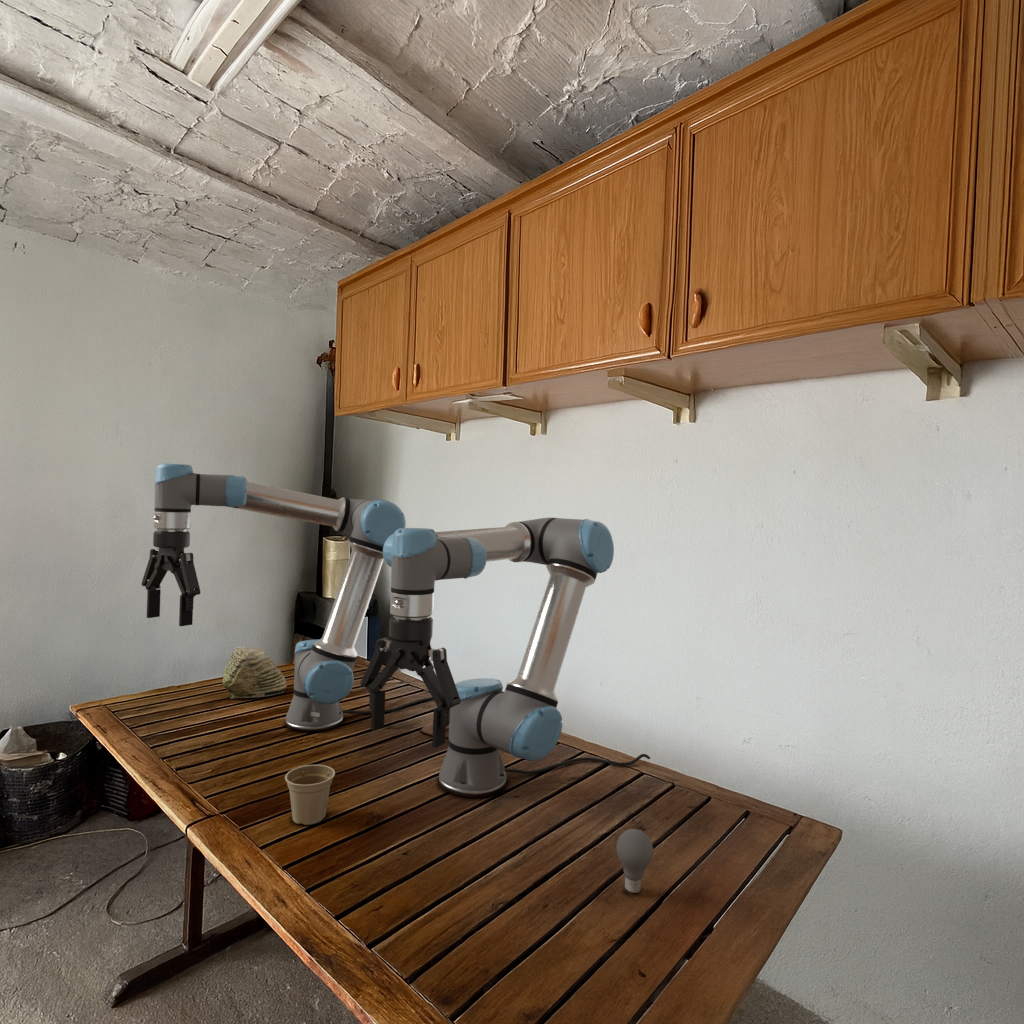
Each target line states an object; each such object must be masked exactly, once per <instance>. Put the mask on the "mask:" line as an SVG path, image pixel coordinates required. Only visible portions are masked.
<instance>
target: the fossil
mask: <svg viewBox="0 0 1024 1024" xmlns="http://www.w3.org/2000/svg"><path fill="white" fill-rule="evenodd" d="M222 676H223V677H222V685H223V687H224V688H225V690H226V691H228V693H229V698H230V699H250V698H264V697H271V696H275V695H281V694H284V693H285V691H286V689H287V687H288V686H287V680H286V678H285V676H284V674H283V673H282V672H281V669H279V668H278V667H277V665H276V663H275V662H274V660H273V659H272V658H271V657H270V656H269V655H268V654H267V653H266V652H265V650H264V649H263V648H260V647H258V648H251V647H247V646H246V647H245V646H238V647H237V648H236V649H235V650H233V651H232V653H231V656H230V657H229V659H228V660H227V663H226V666H225V668H224V671H223V675H222Z"/></svg>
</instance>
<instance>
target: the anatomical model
mask: <svg viewBox="0 0 1024 1024" xmlns="http://www.w3.org/2000/svg"><path fill="white" fill-rule="evenodd" d="M420 730H421V732H422V733H424V734H426V735H430V736H433V722H431V723H428V724H426V725H425V726H422V728H421V729H420ZM447 737H448V738H449V725H448V726H447V727H446V734H445V738H447Z"/></svg>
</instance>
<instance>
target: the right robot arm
mask: <svg viewBox="0 0 1024 1024" xmlns="http://www.w3.org/2000/svg"><path fill="white" fill-rule="evenodd" d="M614 554H615V546H614V540H613V536H612V533H611V531H610V530H609V528H608V527H607V526H606V525H605V523H603V522H601V521H599V520H593V519H589V518H588V519H587V518H584V519H581V518H563V517H562V518H561V517H541V518H540V517H539V518H534V519H528V520H521V521H512V522H509V523H507V524H506V525H505V526H501V527H500V526H499V527H498V526H497V527H487V528H485V527H484V528H475V529H474V528H473V529H459V530H456V529H455V530H445V531H444V530H443V531H442V530H441V531H436V530H434V529H433V528H426V527H425V528H423V527H406V528H399V529H397V530H396V531H395V532H394V534H392V535H391V536H389V537H388V538H387V540H386V541H385V543H384V546H383V557H384V560H383V561H384V562H385V564H386V565H387V566H389V567H390V568H391V569H390V570H391V571H390V603H389V604H390V607H389V613H390V615H392V616H391V617H390V618H389V626H388V627H389V628H388V637H383V638H379V639H376V640H375V645H374V646H375V647H374V652H373V654H372V656H371V659H370V661H369V663H368V665H367V666H366V667H367V668H366V670H365V672H364V674H363V676H362V679H361V680H360V687H362V688H366V689H367V691H368V693H369V697H368V701H369V702H368V707H369V710H370V711H371V714H370V730H371V731H374V732H375V731H376V730H379V729H381V728H384V727H385V714H386V713H385V710H386V690H383V689H384V688H385V687H384V686H385V685H386V683H388V681H389V680H390V678H392V676H393V675H394V674H395V672H396V671H398V669H399V670H407V671H409V672H415V673H416V675H417V676H419V677H420V678H421V680H422V682H423V684H424V685H425V686H426V688H427V691H428V692H429V694H430V697H432V698H433V699H432V700H433V701H434V703H435V704H436V706H437V707H435V708H433V714H432V718H433V719H432V721H433V722H432V723H433V735H432V741H431V742H432V744H431V745H432V746H431V747H432V748H435V749H437V748H438V747H441V746H442V745H444V744H446V737H445V734H446V727H447V726H448V725H449V737H448V747H447V750H446V753H445V755H444V759H443V761H442V764H441V767H440V769H439V774H438V784H439V787H440V788H441V789H442V790H444V791H445V792H447V793H448V794H451V795H454V796H458V797H463V798H464V797H465V798H483V797H489V796H492V795H496V794H498V793H500V792H501V791H502V790H504V789H505V788H506V785H507V773H514V774H515V773H517V774H522V775H534V774H539V773H542V772H546V771H549V770H552V769H556V768H559V767H562V766H563V767H564V766H566V765H568V764H571V763H576V762H581V761H582V762H583V761H590V762H599V763H603V764H608V765H613V766H621V767H626V766H631V765H634V764H636V763H637V762H638V761H640V760H641V759H643V758H646V759H647V760H651V757H650V755H648V754H647V753H641V754H640V755H638V756H637V757H636V758H634V759H633V760H631V761H625V762H620V761H612V760H607V759H603V758H597V757H591V756H590V757H583V756H582V757H576V758H572V759H568V760H565V761H562V762H558V763H554V764H551V765H547V766H546V767H542V768H539V769H532V770H523V769H517V768H506V767H505V764H504V761H503V757H502V754H501V753H502V752H504V753H507V754H509V755H512V756H513V757H514V758H517V759H523V760H526V761H529V762H537V761H540V760H542V759H544V758H545V757H546V756H547V755H549V754H551V752H552V751H553V750H554V748H555V747H556V746H557V744H558V742H559V739H560V738H561V735H562V731H563V723H562V721H563V716H562V713H561V712H560V711H559V709H557V707H558V704H559V698H558V697H557V694H556V693H555V692H556V691H555V689H556V686H557V684H558V679H559V676H560V673H561V671H562V668H563V667H562V666H563V664H564V660H565V658H566V654H567V651H568V648H569V644H570V642H571V637H572V634H573V631H574V628H575V625H576V621H577V618H578V614H579V612H580V609H581V606H582V602H583V598H584V596H585V592H586V590H587V588H588V587H590V586H593V585H594V584H595V582H596V581H597V576H598V574H602V573H605V572H607V571H608V570H609V569H610V567H611V565H612V564H613V560H614V556H615V555H614ZM504 560H505V561H506V560H507V561H510V562H512V563H523V562H524V563H532V564H538V565H543V566H546V567H545V568H546V571H547V572H548V575H549V578H548V581H547V584H546V587H545V590H544V594H543V597H542V599H541V602H540V604H539V605H540V606H539V609H538V612H537V615H536V618H535V621H534V625H533V626H532V630H531V632H530V636H529V638H528V642H527V645H526V648H525V651H524V654H523V657H522V659H521V663H520V666H519V669H518V671H517V675H516V677H515V678H514V679H512V680H510V681H509V682H508V681H507V684H506V686H505V689H504V686H503V681H501V680H500V679H497V678H488V677H481V678H471V679H470V678H469V679H464V680H461V681H458V682H455V680H454V677H453V674H452V671H451V668H450V665H449V662H448V656H447V649H446V648H445V647H440V648H432V645H431V641H432V638H433V632H434V631H433V630H434V629H433V628H434V619H433V618H432V615H433V614H434V608H435V607H434V606H435V584H436V583H435V582H437V581H442V580H455V579H465V580H466V579H468V578H473V577H477V576H479V575H480V574H482V573H483V571H484V569H485V568H486V565H487V562H496V561H504ZM389 652H390V654H391V656H390V658H389V659H388V660H387V661H386V663H385V660H386V659H387V656H388V653H389ZM384 663H385V666H384V667H383V664H384ZM382 667H383V668H382ZM381 669H382V670H381ZM503 689H504V690H503ZM501 751H502V752H501Z"/></svg>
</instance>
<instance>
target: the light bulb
mask: <svg viewBox="0 0 1024 1024" xmlns="http://www.w3.org/2000/svg"><path fill="white" fill-rule="evenodd" d="M615 849H616V854H617V857H618V859H619V861H620V863H621V865H622V867H623V873H624V874H623V875H624V876H625V878H624V888H625V890H627V891H628V892H630V893H634V894H635V893H639V892H640V891H641V889H642V887H641V886H642V879H643V877H644V875H645V871H646V868H647V867H648V866H649V864H650V863H651V861H652V859H653V855H654V847H653V843H652V841H651V838H649V836H648V835H647V834H646V833H645V832H643V831H642V830H641V829H636V828H629V829H627V830H625V831H623V832H622V833H621V834H620V835H619V837H618V839H617V841H616V847H615Z"/></svg>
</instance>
